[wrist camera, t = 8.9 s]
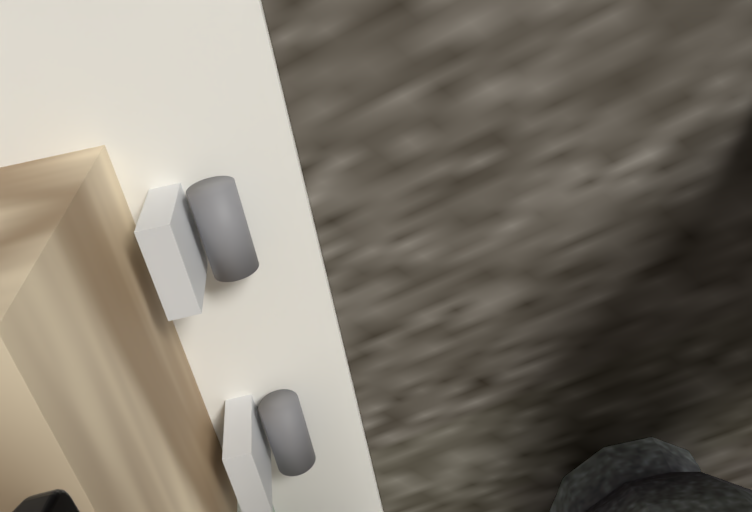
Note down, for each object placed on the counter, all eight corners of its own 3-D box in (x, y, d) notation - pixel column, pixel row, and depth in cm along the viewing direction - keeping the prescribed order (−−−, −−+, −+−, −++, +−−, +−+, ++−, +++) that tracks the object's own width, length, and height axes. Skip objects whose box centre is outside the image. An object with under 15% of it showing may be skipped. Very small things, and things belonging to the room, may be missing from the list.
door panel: (104, 144, 17) (-4, 329, 10) (237, 489, 22) (230, 760, 15) (-63, 180, 16) (-299, 396, 9) (115, 519, 22) (52, 808, 15)
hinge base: (243, -73, 16) (230, -32, 7) (383, 511, 26) (448, 822, 17) (-288, 32, 15) (-979, 212, 7) (62, 591, 25) (-38, 955, 16)
